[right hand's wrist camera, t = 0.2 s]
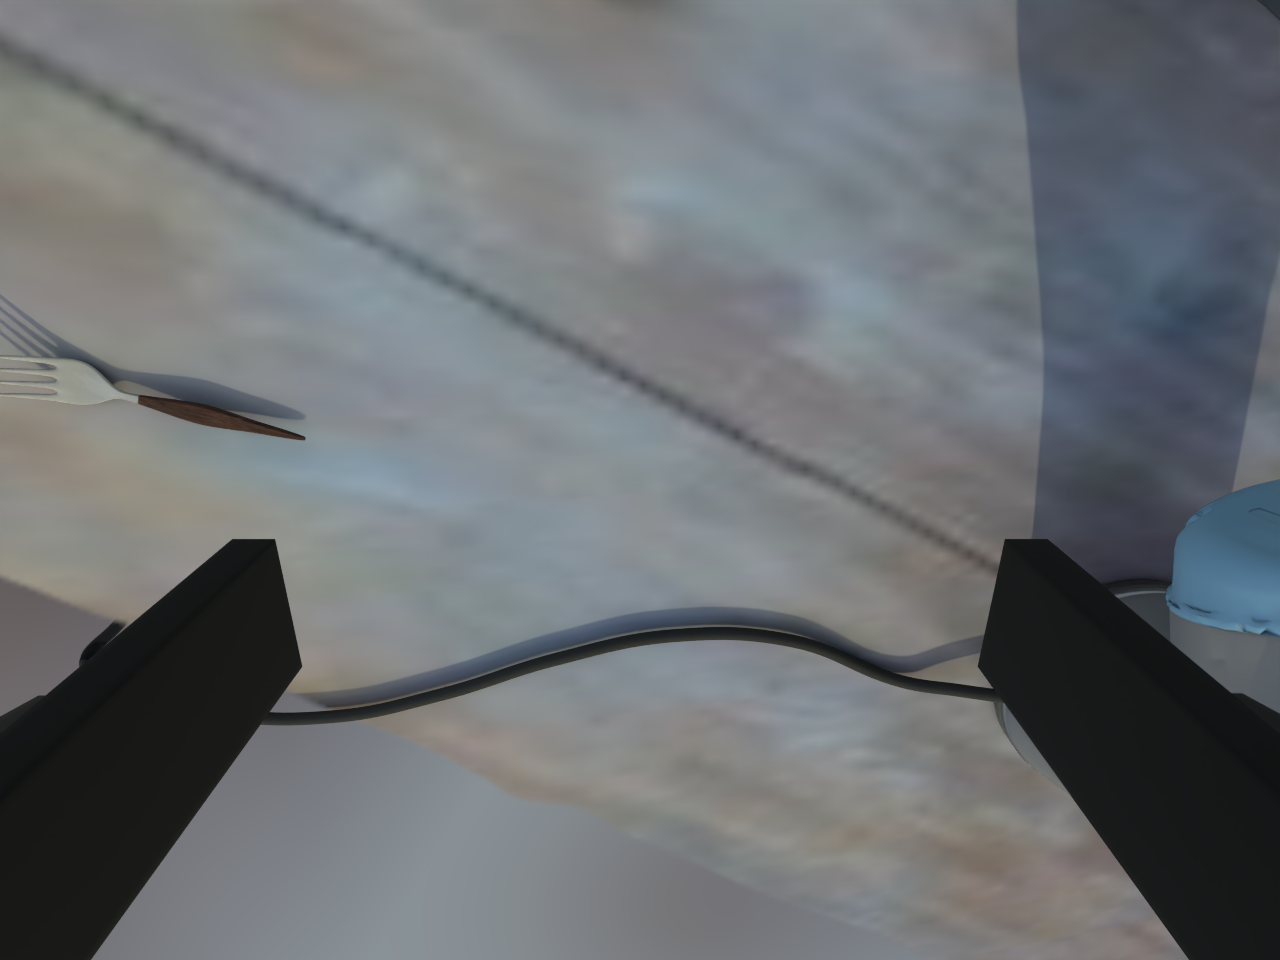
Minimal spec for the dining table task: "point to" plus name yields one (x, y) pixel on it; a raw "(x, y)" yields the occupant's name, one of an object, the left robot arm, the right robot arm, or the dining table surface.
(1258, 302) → the dining table surface
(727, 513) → the dining table surface
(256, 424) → the fork
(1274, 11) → the post
